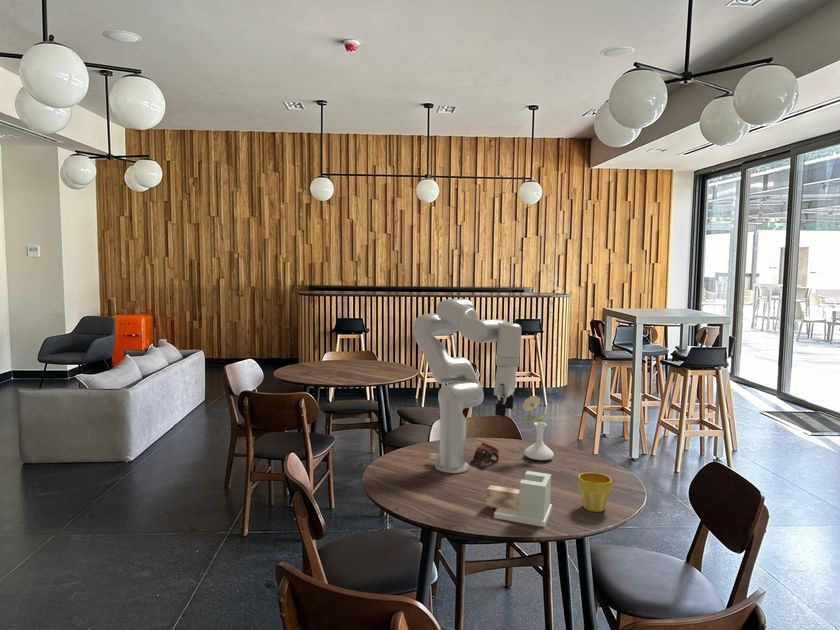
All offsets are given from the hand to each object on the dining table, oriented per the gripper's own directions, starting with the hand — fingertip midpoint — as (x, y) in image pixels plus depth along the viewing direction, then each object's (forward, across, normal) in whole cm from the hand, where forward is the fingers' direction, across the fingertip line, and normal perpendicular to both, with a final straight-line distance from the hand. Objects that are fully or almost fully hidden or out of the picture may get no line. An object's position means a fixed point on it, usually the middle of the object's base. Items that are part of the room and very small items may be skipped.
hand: (504, 411), depth 197 cm
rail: (+25, +14, +8) cm, 30 cm away
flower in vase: (+28, -40, +5) cm, 49 cm away
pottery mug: (+29, -26, -12) cm, 40 cm away
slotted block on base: (+26, +14, +12) cm, 32 cm away
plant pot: (+26, 0, +31) cm, 41 cm away
